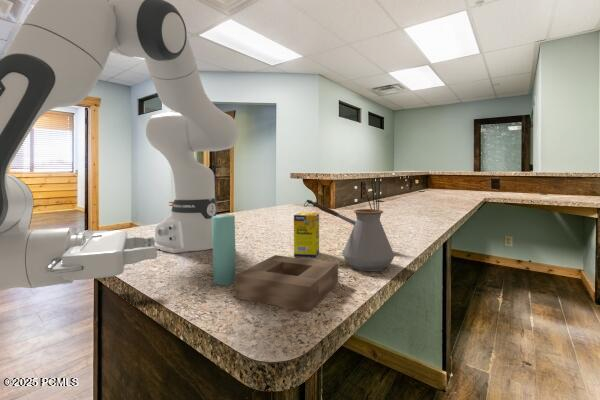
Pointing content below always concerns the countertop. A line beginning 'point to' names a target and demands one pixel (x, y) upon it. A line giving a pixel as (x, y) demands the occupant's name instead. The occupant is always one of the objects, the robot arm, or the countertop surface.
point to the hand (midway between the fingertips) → (155, 246)
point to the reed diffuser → (373, 194)
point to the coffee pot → (365, 240)
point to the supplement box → (306, 234)
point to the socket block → (287, 282)
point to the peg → (223, 249)
